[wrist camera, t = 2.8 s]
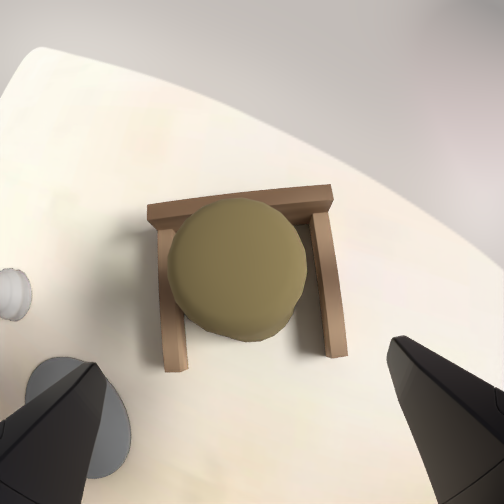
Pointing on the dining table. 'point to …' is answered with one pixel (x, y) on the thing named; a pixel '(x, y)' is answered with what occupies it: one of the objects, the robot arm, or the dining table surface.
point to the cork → (237, 269)
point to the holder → (297, 213)
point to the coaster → (112, 421)
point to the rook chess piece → (14, 294)
